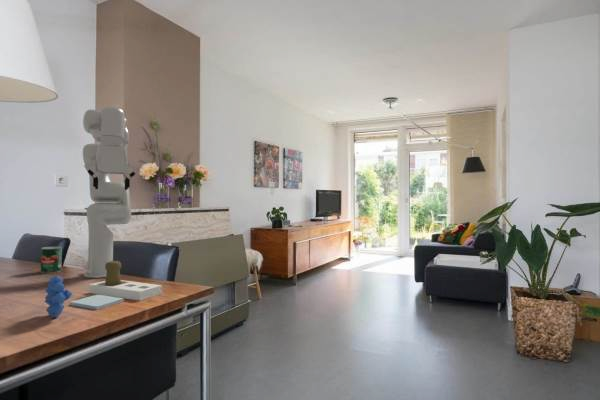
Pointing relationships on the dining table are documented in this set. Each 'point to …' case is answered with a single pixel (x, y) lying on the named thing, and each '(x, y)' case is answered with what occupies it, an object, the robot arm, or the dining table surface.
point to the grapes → (56, 296)
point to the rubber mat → (96, 302)
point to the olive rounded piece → (113, 273)
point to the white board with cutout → (127, 290)
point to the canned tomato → (51, 259)
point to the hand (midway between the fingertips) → (111, 189)
